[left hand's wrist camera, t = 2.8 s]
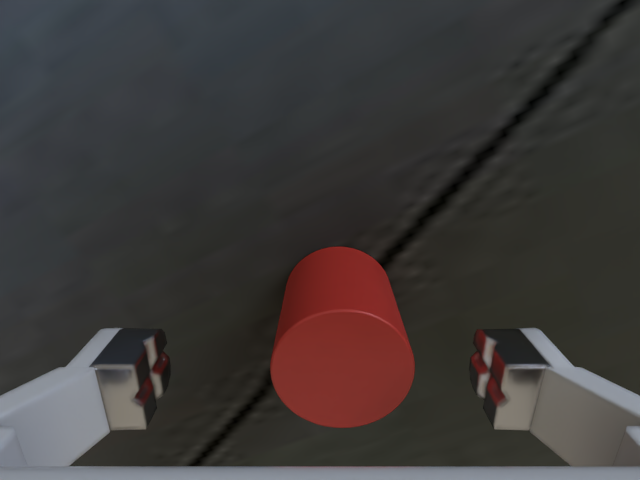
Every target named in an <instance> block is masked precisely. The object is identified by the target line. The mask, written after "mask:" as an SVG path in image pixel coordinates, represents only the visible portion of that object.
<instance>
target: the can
mask: <svg viewBox="0 0 640 480" xmlns="http://www.w3.org/2000/svg"><path fill="white" fill-rule="evenodd" d="M270 373H271V379H272V382H273V386H274V388H275V390H276V392H277V394H278V396H279V397H280V399H281V400H282V402H283V403H284V404H285V405H286V406H287V407H288V408H289V409H290V410H291V411H293V412H294V413H295V414H297V415H298V416H300V417H302V418H304V419H305V420H307V421H310V422H312V423H315V424H319V425H322V426H327V427H335V428H350V427H357V426H362V425H366V424H369V423H372V422H374V421H377V420H379V419H381V418H383V417H385V416H386V415H388V414H389V413H391V412H392V411H393V410H394V409H395V408H397V407H398V406H399V404H400V403H401V402H402V401H403V400H404V398H405V397H406V395H407V394H408V392H409V390H410V388H411V385H412V382H413V379H414V373H415V362H414V356H413V352H412V349H411V346H410V343H409V340H408V337H407V334H406V331H405V328H404V325H403V322H402V319H401V316H400V313H399V310H398V307H397V304H396V301H395V298H394V295H393V292H392V288H391V285H390V282H389V279H388V277H387V275H386V273H385V271H384V269H383V268H382V266H381V265H380V264H379V263H378V262H377V261H376V260H375V259H373V258H372V257H371V256H369V255H368V254H366V253H364V252H362V251H360V250H356V249H353V248H348V247H329V248H324V249H321V250H318V251H315V252H313V253H311V254H309V255H308V256H306V257H305V258H304V259H302V260H301V261H300V262H299V263H298V264H297V265H296V266H295V268H294V269H293V271H292V272H291V274H290V276H289V278H288V281H287V285H286V290H285V294H284V299H283V304H282V309H281V314H280V318H279V323H278V328H277V333H276V338H275V342H274V347H273V352H272V357H271V363H270Z"/></svg>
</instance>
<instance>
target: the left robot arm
mask: <svg viewBox="0 0 640 480" xmlns="http://www.w3.org/2000/svg"><path fill="white" fill-rule="evenodd" d="M166 344H167V341H166V336H165V332H164V331H163V330H162V329H139V328H124V329H123V328H104V329H101V330H99V331H98V332H97V334H96V335H95V336H94V337H93V338H92V339H91V340H90V341H89V342H88V343H87V344H86V345H85V347H84V348H83V349H82V350H81V351H80V352H79V353H78V354H77V355H76V356H75V357H74V359H73V360H72V361H71V362H70V363H69V364H68V365H67V366H66V367H59V368H57V369H55V370H52V371H50V372H48V373H46V374H44V375H42V376H40V377H38V378H36V379H34V380H32V381H30V382H28V383H26V384H24V385H22V386H19V387H17V388H15V389H13V390H11V391H9V392H7V393H5V394H3V395H1V396H0V480H640V396H639V395H637V394H635V393H633V392H631V391H629V390H627V389H625V388H622V387H620V386H618V385H616V384H614V383H612V382H610V381H608V380H606V379H604V378H602V377H600V376H598V375H596V374H594V373H592V372H590V371H587V370H585V369H583V368H581V367H574V366H573V365H572V364H571V363H570V362H569V361H568V360H567V359H566V357H565V356H564V355H563V354H562V353H561V352H560V351H559V350H558V349H557V348H556V347H555V345H554V344H553V343H552V342H551V341H550V340H549V339H548V338H547V337H546V336H545V335H544V333H543V332H542V331H541V330H539V329H537V328H516V329H480V330H477V331H476V333H475V335H474V340H473V344H474V346H475V347H476V349H477V352H476V353H475V354H474V355H473V356H472V357H471V359H470V366H469V371H470V380H471V383H472V387H473V389H474V391H475V393H476V395H478V396H479V397H480V398H482V399H483V400H484V405H483V409H484V411H485V413H486V415H487V417H488V418H489V420H490V422H491V424H492V426H493V428H494V429H505V430H530V432H531V433H532V434H533V435H534V436H535V437H537V438H538V439H539V440H540V441H542V442H543V443H544V444H545V445H546V446H548V447H549V448H550V449H551V450H552V451H554V452H555V453H556V454H557V455H559V456H560V457H561V458H562V459H563V460H565V461H566V462H567V463H568V464H569V465H571V466H378V467H320V466H69V465H71V464H72V463H73V462H74V461H76V460H77V459H78V458H79V457H80V456H82V455H83V454H84V453H85V452H86V451H88V450H89V449H90V448H91V447H93V446H94V445H95V444H96V443H97V442H99V441H100V440H101V439H102V438H103V437H105V436H106V435H107V434H108V433H110V430H134V429H146V428H147V426H148V424H149V422H150V420H151V419H152V417H153V415H154V413H155V411H156V409H157V405H156V400H157V399H158V398H160V397H161V396H162V395H164V393H165V391H166V389H167V387H168V383H169V379H170V370H171V365H170V358H169V357H168V356H167V355H166V354H165V353H164V352H163V349H164V347H165V346H166Z"/></svg>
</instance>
